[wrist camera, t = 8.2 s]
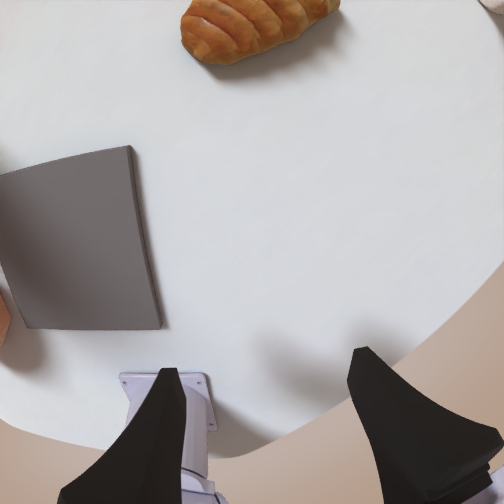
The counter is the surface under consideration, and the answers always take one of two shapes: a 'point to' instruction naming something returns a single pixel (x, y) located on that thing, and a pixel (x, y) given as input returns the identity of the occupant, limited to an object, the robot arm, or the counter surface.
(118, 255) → the mat
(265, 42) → the pastry
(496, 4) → the beer glass
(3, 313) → the bowl
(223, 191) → the counter surface
